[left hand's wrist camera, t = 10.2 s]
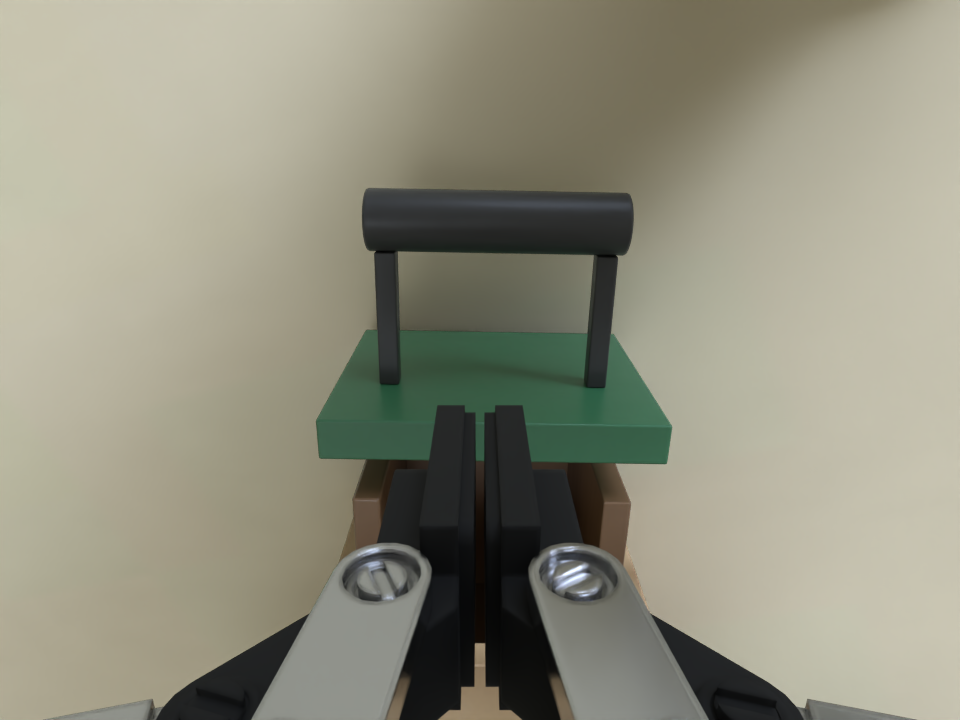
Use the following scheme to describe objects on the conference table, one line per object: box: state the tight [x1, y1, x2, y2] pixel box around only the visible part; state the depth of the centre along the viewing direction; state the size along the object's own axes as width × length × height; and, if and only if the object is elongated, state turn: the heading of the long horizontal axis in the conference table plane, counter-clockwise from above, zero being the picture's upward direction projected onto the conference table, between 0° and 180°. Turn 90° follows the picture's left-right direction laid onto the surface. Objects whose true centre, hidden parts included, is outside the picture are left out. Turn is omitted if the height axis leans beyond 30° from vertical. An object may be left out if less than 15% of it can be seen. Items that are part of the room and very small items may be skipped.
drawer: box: [316, 188, 672, 643], centre depth 22 cm, size 18×10×8 cm, turn 179°
